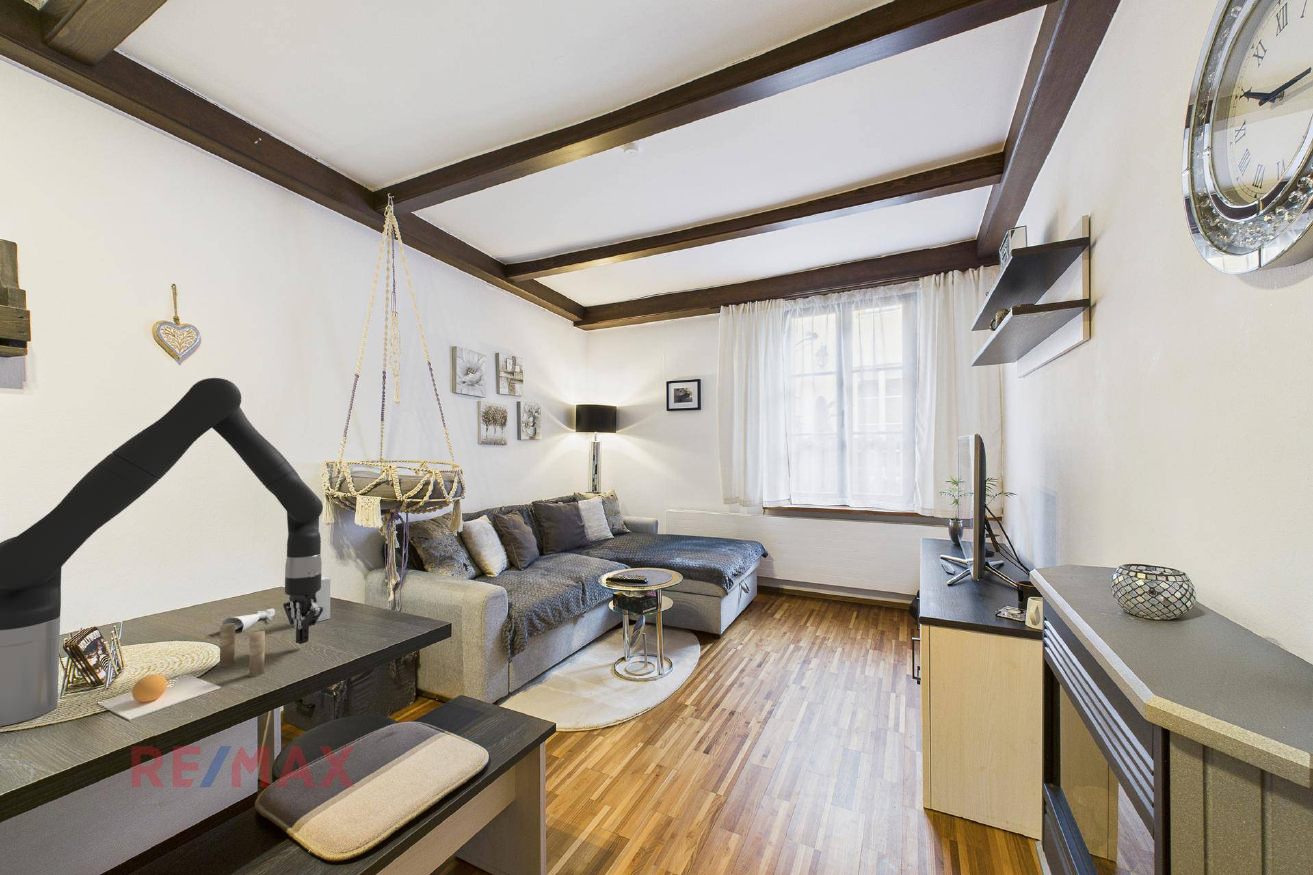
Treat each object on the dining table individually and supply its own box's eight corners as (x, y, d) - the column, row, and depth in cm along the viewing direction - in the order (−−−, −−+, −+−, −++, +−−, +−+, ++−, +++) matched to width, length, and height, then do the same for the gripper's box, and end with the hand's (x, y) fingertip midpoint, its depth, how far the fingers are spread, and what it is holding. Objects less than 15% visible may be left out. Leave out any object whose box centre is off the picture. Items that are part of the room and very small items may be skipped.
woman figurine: (202, 619, 136) (253, 603, 153) (201, 637, 135) (252, 619, 153) (247, 619, 136) (293, 603, 154) (246, 636, 135) (292, 618, 153)
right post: (253, 677, 111) (254, 635, 111) (246, 675, 112) (247, 633, 112) (266, 672, 113) (267, 632, 114) (259, 670, 115) (260, 630, 115)
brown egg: (137, 708, 97) (140, 681, 98) (125, 703, 99) (128, 676, 100) (171, 698, 102) (173, 673, 102) (158, 694, 104) (161, 668, 104)
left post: (223, 666, 116) (224, 627, 116) (217, 664, 117) (218, 625, 118) (236, 662, 119) (237, 623, 119) (230, 660, 120) (231, 622, 120)
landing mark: (129, 720, 93) (129, 719, 93) (96, 703, 99) (96, 702, 99) (221, 688, 106) (221, 687, 106) (186, 675, 112) (186, 674, 112)
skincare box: (322, 616, 151) (322, 575, 152) (330, 618, 149) (331, 577, 149) (299, 622, 146) (300, 580, 146) (308, 625, 144) (309, 582, 144)
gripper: (271, 573, 127) (270, 643, 127) (303, 579, 121) (302, 652, 121) (303, 567, 134) (301, 633, 133) (335, 572, 128) (333, 641, 128)
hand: (302, 642), depth 127 cm, fingers closed
